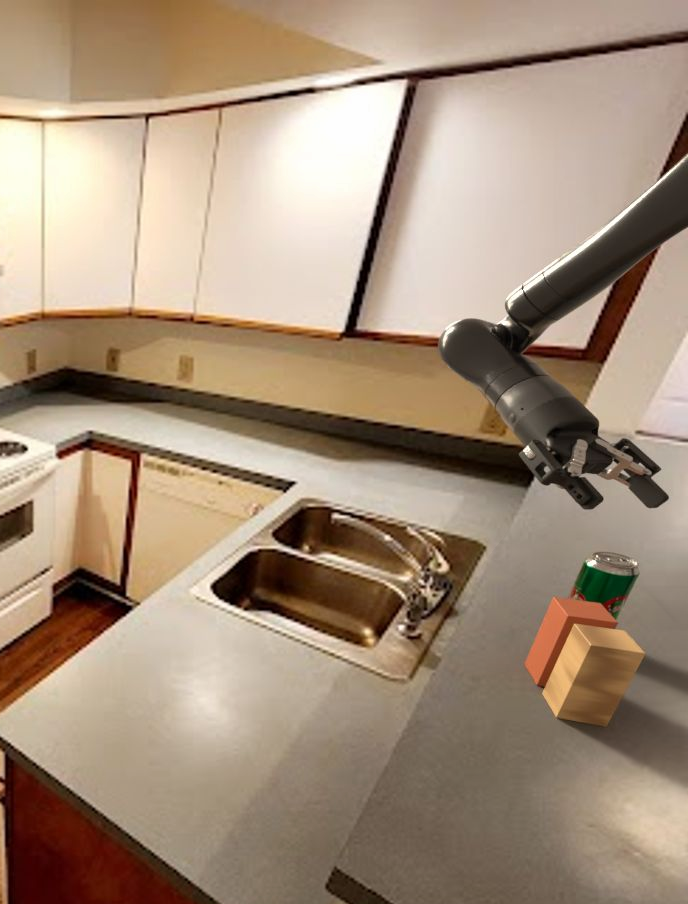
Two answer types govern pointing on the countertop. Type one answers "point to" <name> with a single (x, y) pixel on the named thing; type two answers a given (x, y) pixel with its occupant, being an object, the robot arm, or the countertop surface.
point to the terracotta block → (562, 633)
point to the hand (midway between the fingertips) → (627, 504)
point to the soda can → (606, 581)
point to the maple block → (592, 674)
